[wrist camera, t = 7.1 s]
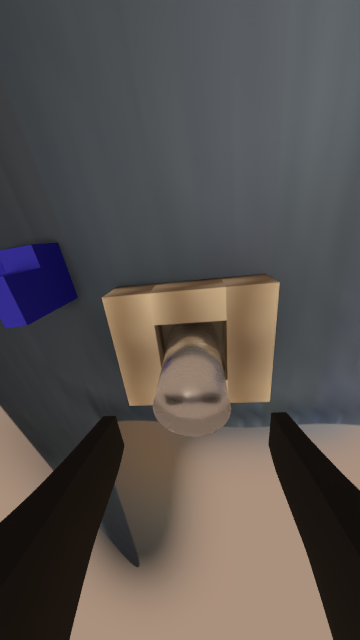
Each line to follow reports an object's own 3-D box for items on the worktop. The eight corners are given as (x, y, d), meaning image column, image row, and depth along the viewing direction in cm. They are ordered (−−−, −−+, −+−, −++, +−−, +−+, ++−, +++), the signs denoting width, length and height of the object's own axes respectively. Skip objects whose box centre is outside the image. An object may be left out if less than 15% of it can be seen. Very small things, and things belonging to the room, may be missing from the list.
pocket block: (264, 273, 16) (279, 282, 13) (259, 378, 20) (269, 401, 17) (116, 287, 17) (101, 297, 14) (138, 382, 21) (129, 405, 18)
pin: (216, 315, 17) (232, 378, 10) (215, 356, 18) (229, 437, 11) (168, 316, 17) (148, 378, 10) (171, 356, 19) (156, 435, 11)
